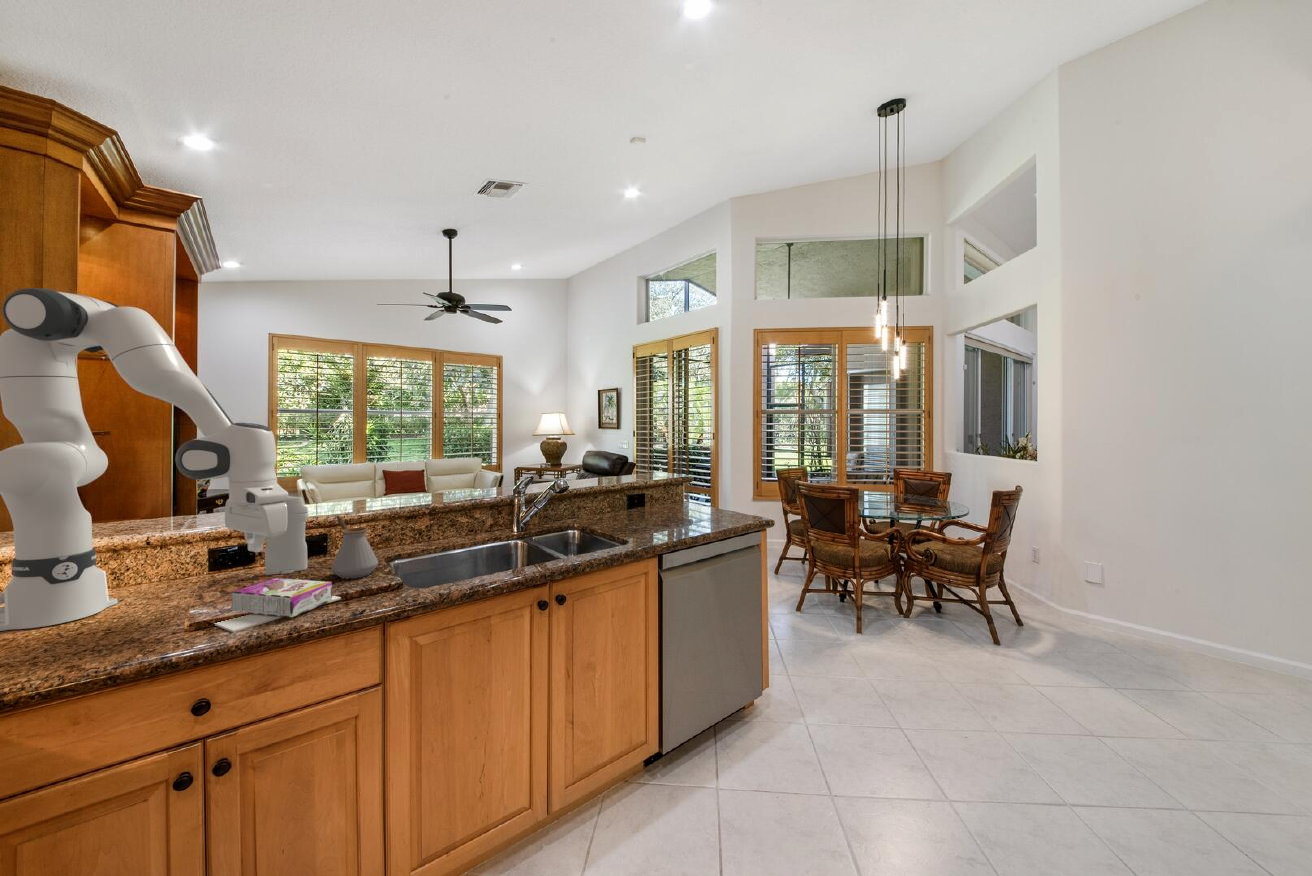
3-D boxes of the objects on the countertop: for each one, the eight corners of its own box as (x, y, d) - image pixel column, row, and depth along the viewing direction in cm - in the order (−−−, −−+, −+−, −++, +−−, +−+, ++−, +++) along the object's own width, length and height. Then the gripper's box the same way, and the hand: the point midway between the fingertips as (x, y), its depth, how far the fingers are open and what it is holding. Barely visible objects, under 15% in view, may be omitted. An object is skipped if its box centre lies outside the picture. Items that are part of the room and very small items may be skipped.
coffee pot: (384, 574, 144) (383, 522, 143) (338, 583, 135) (337, 528, 135) (358, 560, 158) (358, 512, 158) (316, 567, 150) (315, 517, 149)
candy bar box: (275, 576, 125) (333, 580, 122) (275, 596, 125) (333, 601, 122) (229, 590, 114) (291, 596, 110) (230, 612, 114) (291, 619, 111)
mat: (203, 620, 110) (203, 618, 110) (310, 590, 130) (310, 589, 130) (233, 632, 104) (233, 630, 104) (340, 599, 124) (340, 597, 124)
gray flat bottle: (308, 566, 151) (306, 493, 150) (309, 569, 148) (308, 495, 147) (263, 573, 144) (261, 497, 143) (264, 577, 141) (262, 498, 140)
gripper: (215, 491, 119) (217, 548, 120) (261, 497, 110) (263, 559, 111) (246, 487, 125) (248, 543, 125) (292, 493, 116) (294, 553, 116)
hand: (255, 551), depth 118 cm, fingers closed
